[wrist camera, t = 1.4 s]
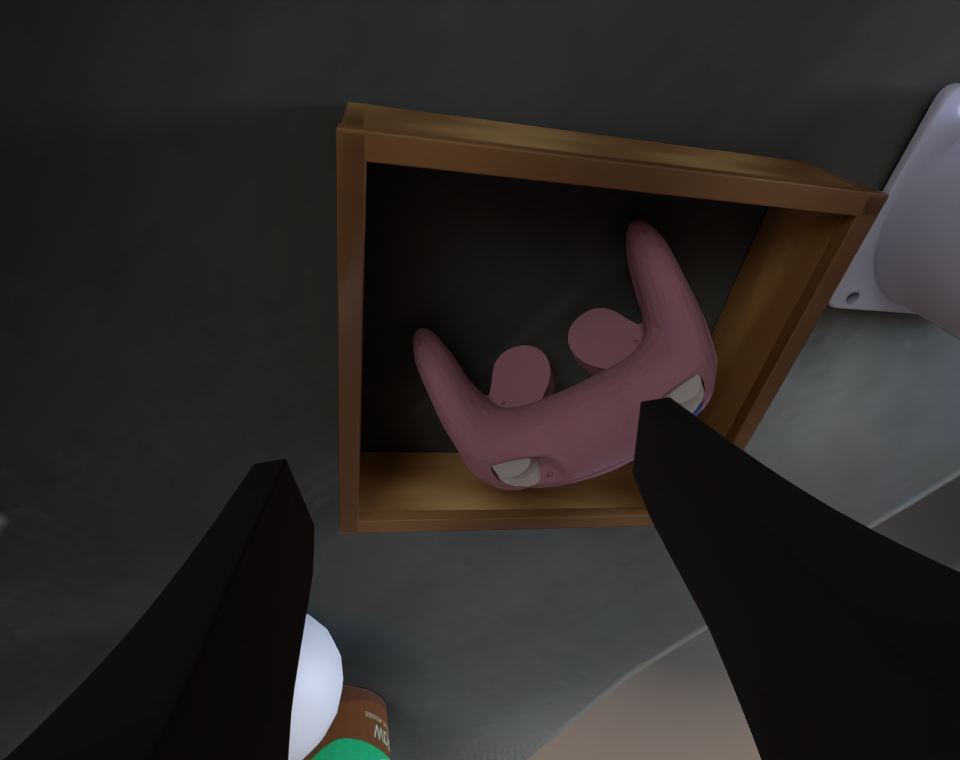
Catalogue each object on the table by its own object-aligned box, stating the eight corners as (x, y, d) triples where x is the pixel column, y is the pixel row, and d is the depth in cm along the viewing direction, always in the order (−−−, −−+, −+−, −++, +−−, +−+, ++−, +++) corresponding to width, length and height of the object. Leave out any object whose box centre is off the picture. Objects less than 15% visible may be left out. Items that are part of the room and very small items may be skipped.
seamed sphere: (248, 560, 26) (208, 725, 20) (373, 603, 30) (371, 753, 24) (156, 656, 30) (100, 819, 24) (278, 684, 33) (255, 832, 28)
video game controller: (441, 374, 23) (495, 529, 20) (393, 328, 19) (450, 513, 16) (656, 271, 22) (750, 420, 19) (652, 197, 18) (772, 372, 15)
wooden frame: (806, 160, 18) (891, 194, 15) (665, 462, 26) (702, 525, 23) (345, 99, 15) (335, 127, 12) (345, 462, 23) (339, 534, 20)
